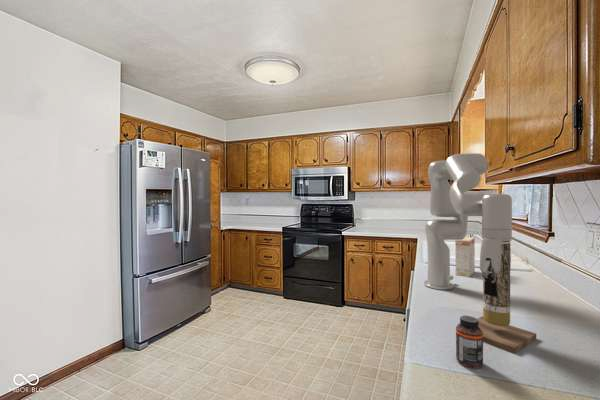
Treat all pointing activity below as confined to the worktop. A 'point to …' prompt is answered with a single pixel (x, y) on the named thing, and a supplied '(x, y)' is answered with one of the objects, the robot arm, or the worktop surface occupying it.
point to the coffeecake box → (465, 256)
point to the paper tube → (499, 293)
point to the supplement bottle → (469, 342)
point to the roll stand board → (505, 336)
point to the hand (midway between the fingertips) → (496, 292)
